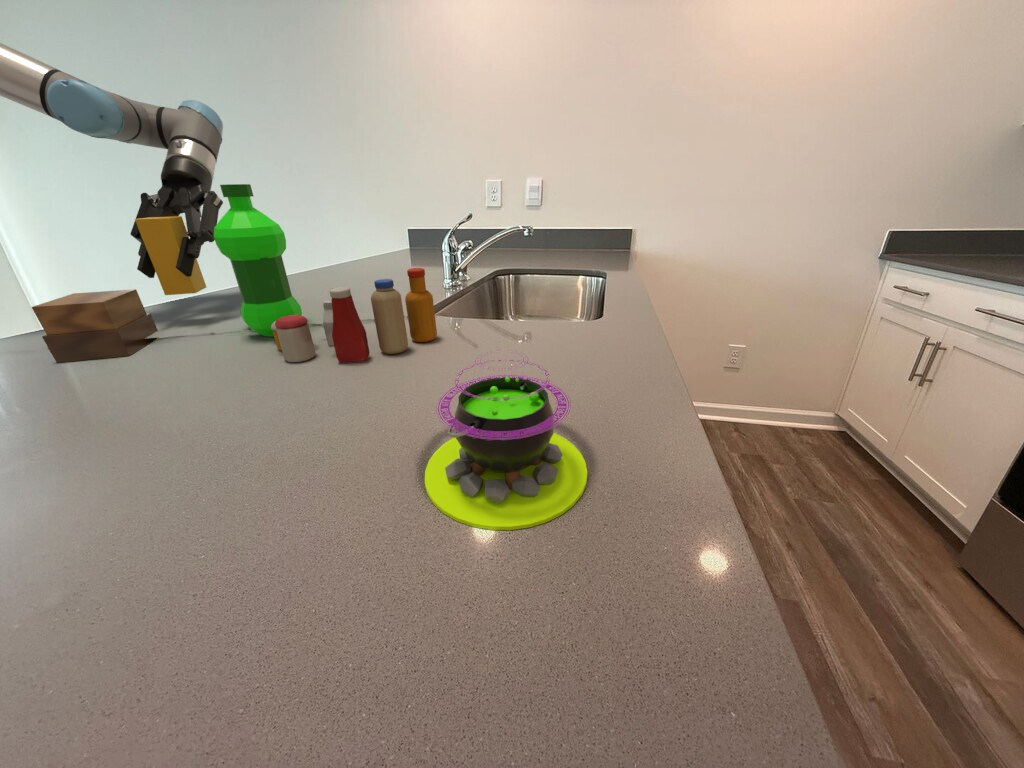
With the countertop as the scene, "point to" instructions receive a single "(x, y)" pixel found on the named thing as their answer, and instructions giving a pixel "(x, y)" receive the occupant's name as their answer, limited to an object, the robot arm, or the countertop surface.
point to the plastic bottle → (255, 260)
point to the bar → (169, 254)
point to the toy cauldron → (505, 455)
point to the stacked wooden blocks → (95, 325)
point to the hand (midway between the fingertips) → (164, 272)
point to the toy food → (348, 328)
